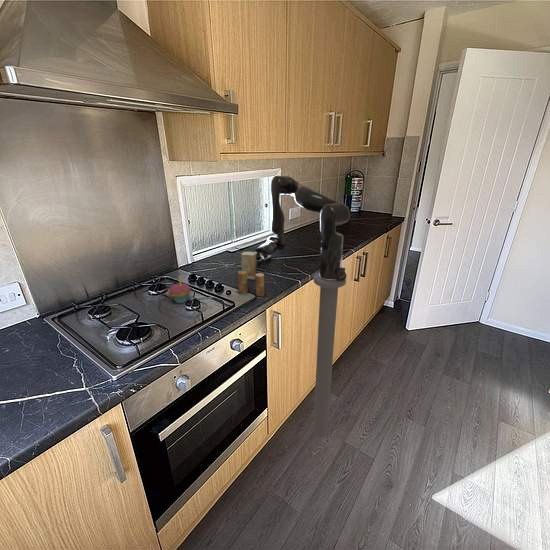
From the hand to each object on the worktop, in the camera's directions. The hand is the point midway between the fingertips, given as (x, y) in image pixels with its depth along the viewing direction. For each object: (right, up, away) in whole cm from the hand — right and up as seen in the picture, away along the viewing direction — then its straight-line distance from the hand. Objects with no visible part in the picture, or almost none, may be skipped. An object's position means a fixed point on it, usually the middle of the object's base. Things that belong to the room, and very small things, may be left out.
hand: (250, 262), depth 137 cm
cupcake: (-26, -16, -18) cm, 36 cm away
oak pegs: (+2, -13, -13) cm, 19 cm away
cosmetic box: (0, -7, +2) cm, 7 cm away
